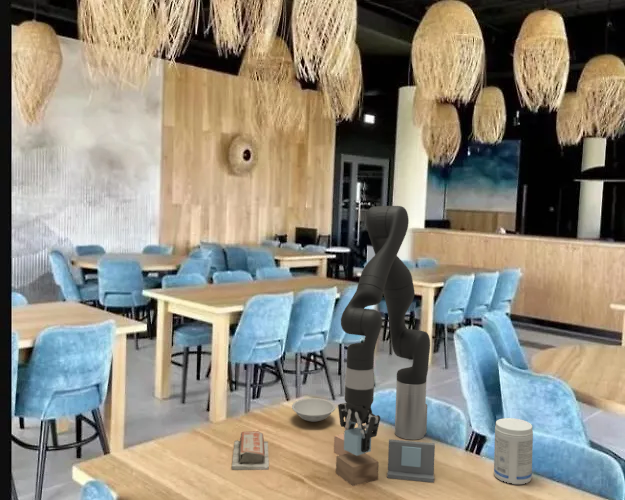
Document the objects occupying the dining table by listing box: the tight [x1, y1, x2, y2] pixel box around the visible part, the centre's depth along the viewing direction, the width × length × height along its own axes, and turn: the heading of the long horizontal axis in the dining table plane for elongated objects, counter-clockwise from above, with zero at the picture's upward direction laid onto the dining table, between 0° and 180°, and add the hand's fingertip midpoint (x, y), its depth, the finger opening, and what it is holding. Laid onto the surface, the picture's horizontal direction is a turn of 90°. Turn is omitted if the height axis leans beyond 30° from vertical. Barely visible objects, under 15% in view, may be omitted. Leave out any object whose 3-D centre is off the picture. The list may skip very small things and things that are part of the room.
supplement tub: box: [493, 417, 534, 485], centre depth 160 cm, size 10×10×15 cm
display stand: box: [386, 438, 436, 483], centre depth 160 cm, size 6×12×9 cm, turn 80°
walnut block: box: [335, 453, 380, 487], centre depth 159 cm, size 8×8×5 cm
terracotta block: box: [333, 432, 350, 456], centre depth 174 cm, size 5×5×5 cm
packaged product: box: [231, 430, 270, 471], centre depth 170 cm, size 18×5×10 cm
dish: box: [291, 397, 336, 423], centre depth 199 cm, size 18×14×5 cm
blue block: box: [343, 426, 372, 456], centre depth 158 cm, size 5×5×5 cm
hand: (357, 447), depth 158 cm, fingers closed on blue block, 5 cm apart
